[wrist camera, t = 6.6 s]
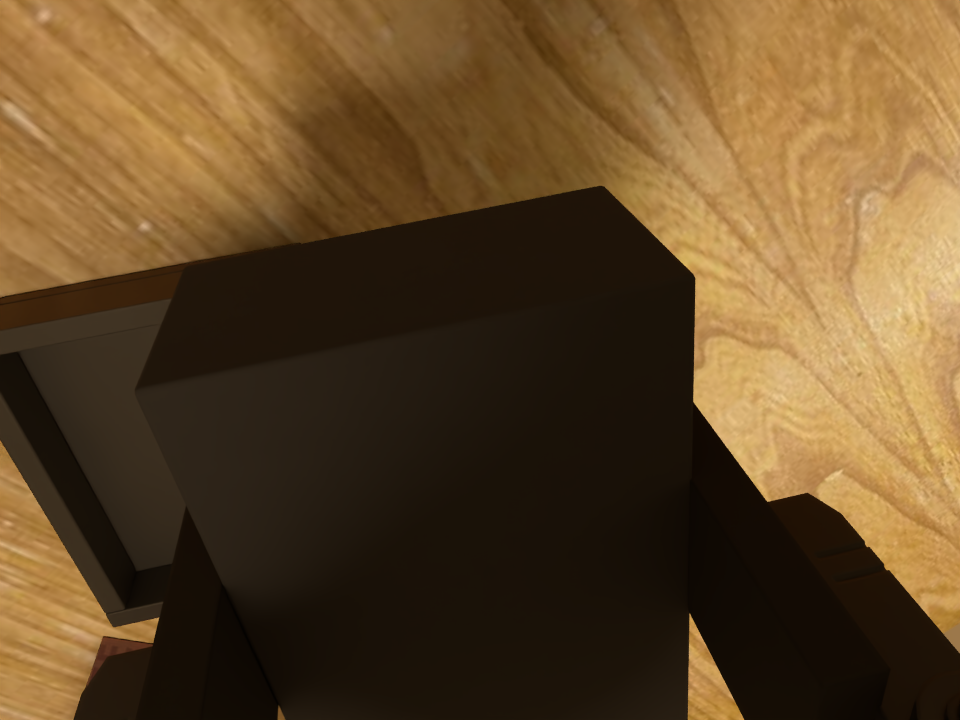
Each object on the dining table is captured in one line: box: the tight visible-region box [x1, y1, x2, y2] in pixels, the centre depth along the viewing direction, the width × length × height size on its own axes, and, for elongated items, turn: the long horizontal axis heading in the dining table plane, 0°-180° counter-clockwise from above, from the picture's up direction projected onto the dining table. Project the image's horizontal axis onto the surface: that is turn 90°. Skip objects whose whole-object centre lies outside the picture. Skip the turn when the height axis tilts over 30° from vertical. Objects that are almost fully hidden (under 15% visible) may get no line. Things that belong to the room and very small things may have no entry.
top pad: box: [135, 186, 695, 720], centre depth 12 cm, size 9×6×4 cm
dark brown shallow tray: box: [0, 243, 301, 627], centre depth 27 cm, size 13×11×3 cm
